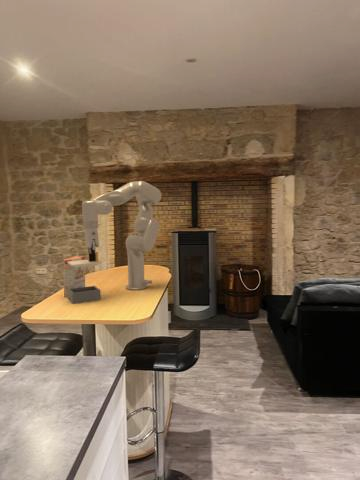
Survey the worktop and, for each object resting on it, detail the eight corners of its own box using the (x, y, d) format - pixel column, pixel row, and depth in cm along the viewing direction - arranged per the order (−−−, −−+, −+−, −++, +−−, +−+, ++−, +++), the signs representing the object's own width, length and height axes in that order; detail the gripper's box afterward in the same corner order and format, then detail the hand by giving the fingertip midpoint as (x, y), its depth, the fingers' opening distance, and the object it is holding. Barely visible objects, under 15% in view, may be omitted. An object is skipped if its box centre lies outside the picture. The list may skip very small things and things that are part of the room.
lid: (95, 262, 189) (95, 250, 188) (101, 265, 179) (101, 253, 178) (67, 265, 182) (66, 253, 181) (72, 268, 172) (71, 256, 171)
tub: (95, 296, 190) (94, 285, 189) (100, 301, 180) (100, 289, 179) (68, 300, 183) (67, 288, 182) (72, 305, 173) (72, 293, 173)
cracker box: (74, 298, 186) (72, 259, 184) (63, 298, 187) (62, 259, 185) (86, 292, 199) (85, 255, 197) (76, 292, 200) (75, 255, 199)
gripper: (102, 225, 175) (103, 262, 177) (94, 224, 189) (95, 258, 190) (86, 226, 171) (88, 263, 173) (79, 224, 185) (81, 259, 187)
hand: (92, 260), depth 182 cm, fingers closed on lid, 1 cm apart
